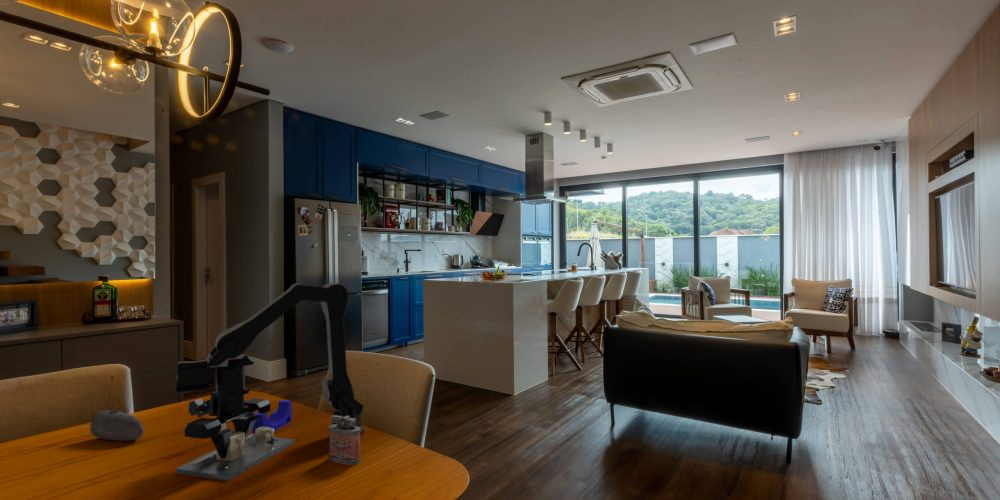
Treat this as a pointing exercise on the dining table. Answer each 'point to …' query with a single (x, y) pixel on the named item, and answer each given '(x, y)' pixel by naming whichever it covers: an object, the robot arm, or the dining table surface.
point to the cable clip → (275, 417)
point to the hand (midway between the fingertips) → (230, 454)
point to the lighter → (344, 440)
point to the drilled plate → (255, 452)
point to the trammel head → (235, 446)
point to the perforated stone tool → (116, 426)
